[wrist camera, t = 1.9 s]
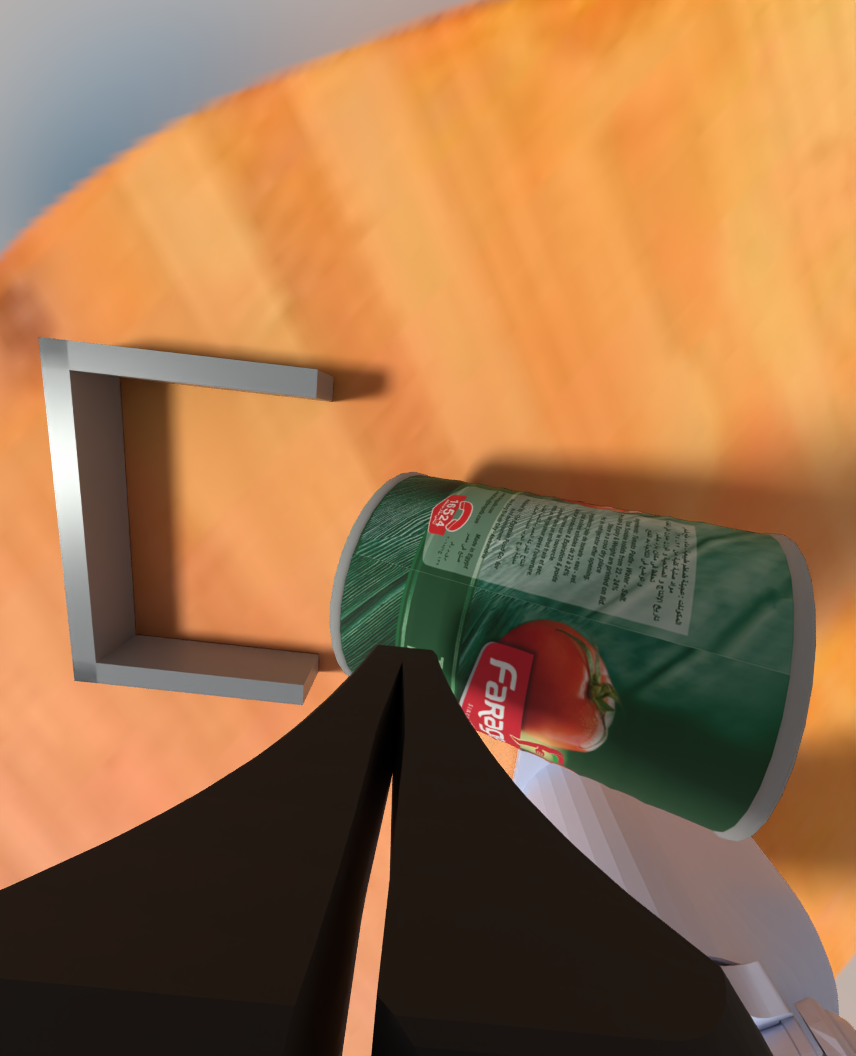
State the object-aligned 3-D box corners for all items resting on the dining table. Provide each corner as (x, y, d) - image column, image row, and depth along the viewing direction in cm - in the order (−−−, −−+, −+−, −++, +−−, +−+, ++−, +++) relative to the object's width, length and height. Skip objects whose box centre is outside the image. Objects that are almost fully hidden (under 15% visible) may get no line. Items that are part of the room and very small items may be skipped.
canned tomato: (291, 680, 11) (793, 915, 7) (387, 429, 13) (840, 484, 9) (403, 680, 18) (689, 796, 14) (456, 516, 20) (726, 572, 16)
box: (333, 377, 17) (317, 369, 15) (317, 672, 21) (302, 705, 18) (93, 349, 17) (38, 337, 15) (116, 650, 21) (74, 680, 18)
